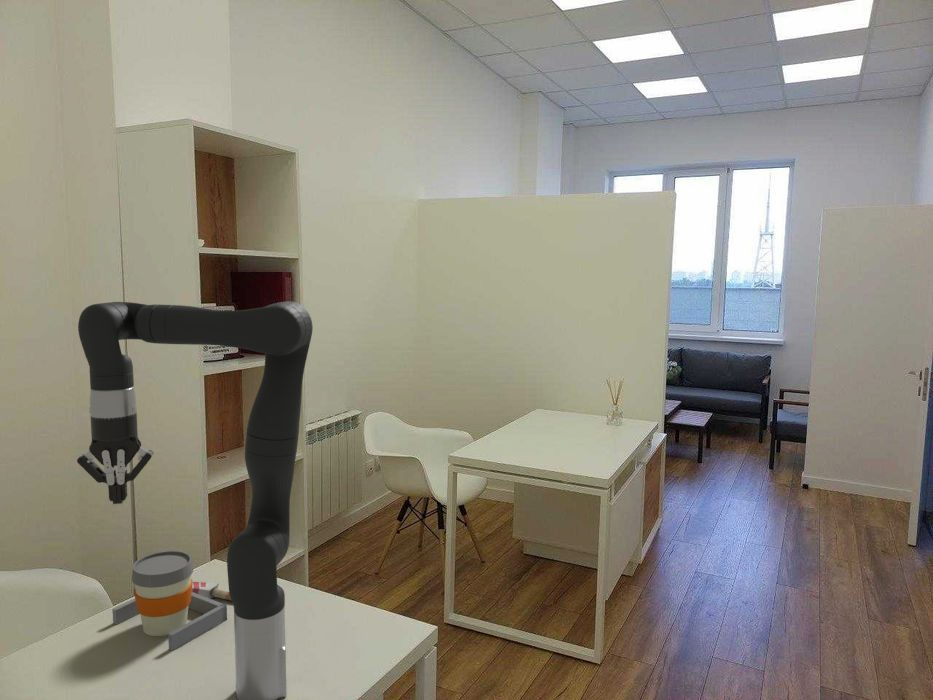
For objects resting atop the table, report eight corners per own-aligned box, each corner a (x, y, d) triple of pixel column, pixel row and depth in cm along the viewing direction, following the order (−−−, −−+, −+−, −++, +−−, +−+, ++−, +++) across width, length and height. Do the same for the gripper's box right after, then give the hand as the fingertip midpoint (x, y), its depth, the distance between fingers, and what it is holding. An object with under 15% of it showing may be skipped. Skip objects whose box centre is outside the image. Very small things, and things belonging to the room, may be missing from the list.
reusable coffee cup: (189, 605, 159) (187, 545, 157) (200, 630, 149) (198, 567, 147) (131, 619, 153) (128, 557, 151) (138, 647, 142) (134, 580, 140)
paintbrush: (187, 574, 168) (254, 592, 162) (187, 584, 169) (254, 603, 162) (176, 581, 165) (244, 599, 158) (176, 591, 165) (244, 610, 159)
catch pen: (172, 650, 141) (171, 635, 141) (113, 623, 151) (112, 608, 151) (227, 619, 154) (226, 605, 153) (168, 596, 163) (168, 582, 163)
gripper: (156, 405, 128) (160, 493, 130) (79, 408, 124) (84, 498, 126) (149, 414, 120) (153, 506, 123) (66, 418, 117) (72, 512, 119)
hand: (118, 502), depth 125 cm, fingers closed
